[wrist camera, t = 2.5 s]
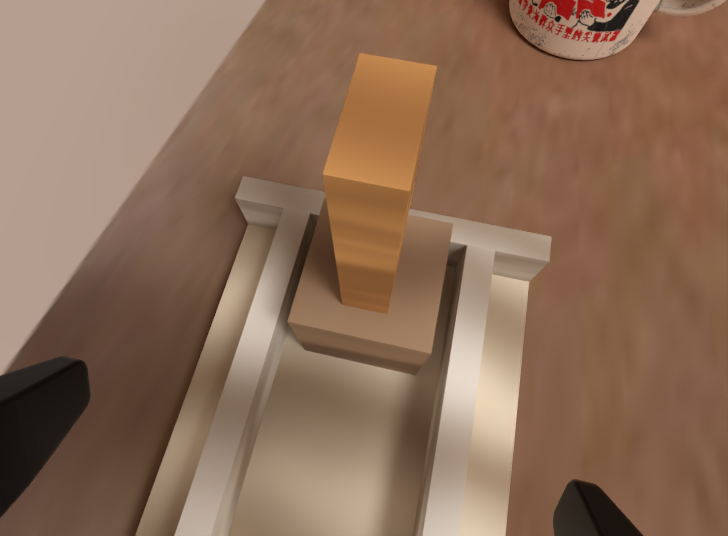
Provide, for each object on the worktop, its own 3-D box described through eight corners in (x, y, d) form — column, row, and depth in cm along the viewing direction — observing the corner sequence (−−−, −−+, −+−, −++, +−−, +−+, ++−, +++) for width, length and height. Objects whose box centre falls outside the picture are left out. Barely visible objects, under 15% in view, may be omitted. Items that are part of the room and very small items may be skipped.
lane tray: (471, 754, 16) (504, 849, 12) (110, 647, 17) (39, 704, 13) (522, 256, 23) (552, 220, 19) (266, 204, 24) (248, 161, 21)
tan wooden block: (415, 375, 19) (499, 261, 7) (305, 350, 20) (214, 203, 8) (433, 271, 21) (525, 43, 9) (332, 250, 22) (293, 6, 10)
